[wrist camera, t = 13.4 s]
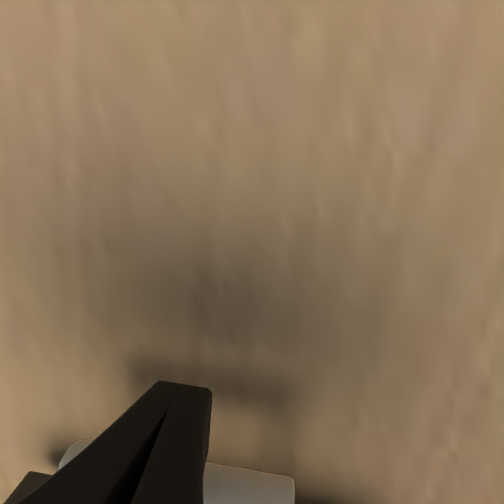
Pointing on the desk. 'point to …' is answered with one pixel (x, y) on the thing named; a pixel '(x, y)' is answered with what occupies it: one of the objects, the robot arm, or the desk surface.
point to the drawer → (214, 483)
